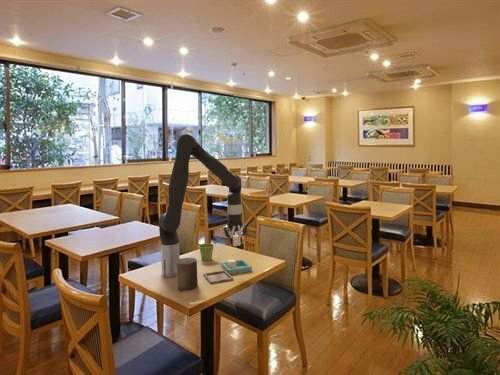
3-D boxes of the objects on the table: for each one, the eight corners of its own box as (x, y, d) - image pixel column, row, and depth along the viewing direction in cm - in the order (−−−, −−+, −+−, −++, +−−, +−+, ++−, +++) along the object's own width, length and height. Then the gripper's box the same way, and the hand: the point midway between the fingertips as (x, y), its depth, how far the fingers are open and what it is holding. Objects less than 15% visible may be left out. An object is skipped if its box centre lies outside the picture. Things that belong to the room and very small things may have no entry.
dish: (229, 275, 186) (228, 270, 185) (221, 267, 198) (221, 262, 197) (251, 271, 191) (251, 266, 190) (242, 264, 203) (242, 259, 202)
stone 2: (233, 246, 186) (233, 237, 185) (231, 244, 189) (230, 235, 189) (240, 245, 187) (240, 236, 187) (238, 243, 191) (237, 234, 190)
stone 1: (229, 271, 190) (229, 262, 190) (226, 268, 194) (226, 260, 193) (236, 270, 192) (235, 261, 191) (233, 267, 196) (233, 259, 195)
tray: (210, 284, 174) (210, 282, 173) (203, 276, 185) (203, 273, 185) (233, 281, 178) (233, 278, 178) (225, 272, 190) (225, 269, 190)
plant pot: (206, 256, 219) (205, 242, 218) (217, 258, 213) (217, 244, 212) (195, 260, 211) (195, 246, 210) (207, 263, 206) (206, 248, 205)
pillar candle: (199, 290, 167) (198, 259, 166) (178, 292, 165) (177, 261, 163) (196, 283, 177) (195, 253, 175) (176, 285, 174) (175, 255, 172)
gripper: (223, 215, 180) (225, 247, 182) (249, 212, 185) (250, 244, 187) (219, 212, 187) (221, 243, 189) (244, 209, 192) (245, 240, 194)
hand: (235, 243), depth 188 cm, fingers closed on stone 2, 4 cm apart
